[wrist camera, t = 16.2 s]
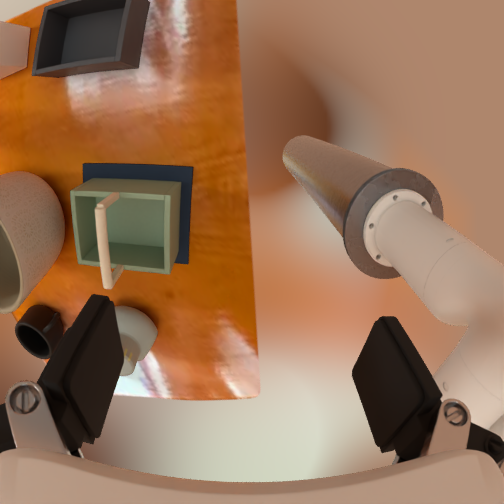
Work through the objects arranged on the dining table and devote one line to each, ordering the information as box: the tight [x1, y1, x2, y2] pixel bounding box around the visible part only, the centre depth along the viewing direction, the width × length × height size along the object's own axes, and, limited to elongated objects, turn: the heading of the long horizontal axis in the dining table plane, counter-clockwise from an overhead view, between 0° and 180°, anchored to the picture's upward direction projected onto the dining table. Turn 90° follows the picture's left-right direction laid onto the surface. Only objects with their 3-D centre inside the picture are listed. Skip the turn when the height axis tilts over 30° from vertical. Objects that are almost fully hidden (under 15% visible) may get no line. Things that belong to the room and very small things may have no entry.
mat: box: [83, 163, 193, 264], centre depth 39 cm, size 16×14×1 cm
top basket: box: [70, 178, 181, 289], centre depth 33 cm, size 13×10×12 cm
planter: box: [0, 171, 65, 314], centre depth 31 cm, size 17×17×15 cm
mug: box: [15, 305, 63, 359], centre depth 43 cm, size 12×9×7 cm
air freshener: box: [115, 306, 158, 376], centre depth 43 cm, size 11×8×10 cm
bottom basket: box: [32, 0, 150, 78], centre depth 24 cm, size 13×10×6 cm
